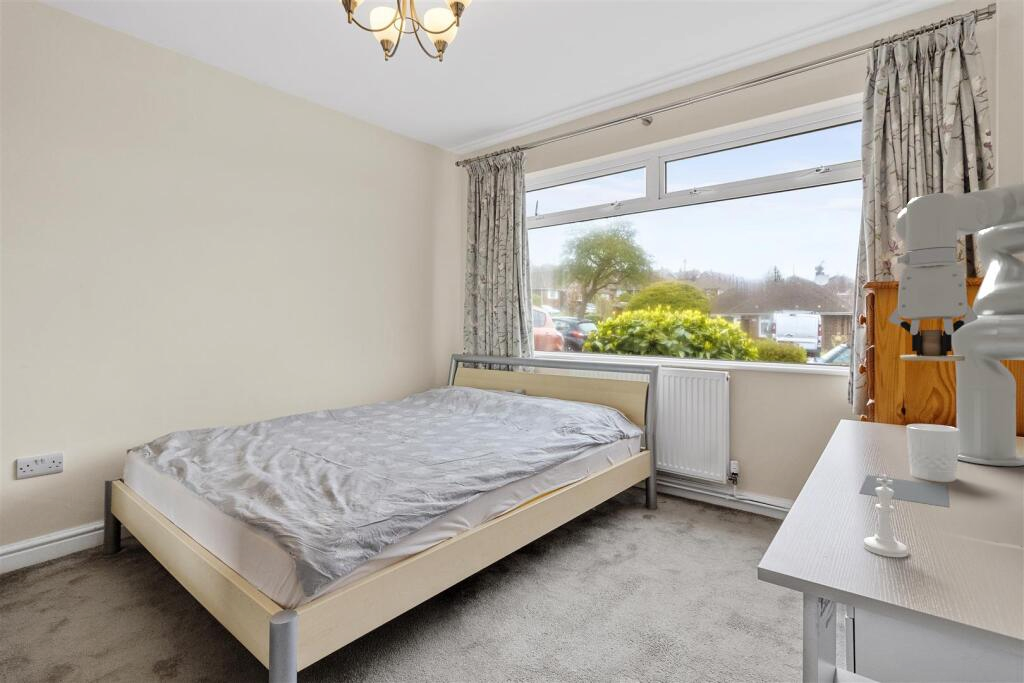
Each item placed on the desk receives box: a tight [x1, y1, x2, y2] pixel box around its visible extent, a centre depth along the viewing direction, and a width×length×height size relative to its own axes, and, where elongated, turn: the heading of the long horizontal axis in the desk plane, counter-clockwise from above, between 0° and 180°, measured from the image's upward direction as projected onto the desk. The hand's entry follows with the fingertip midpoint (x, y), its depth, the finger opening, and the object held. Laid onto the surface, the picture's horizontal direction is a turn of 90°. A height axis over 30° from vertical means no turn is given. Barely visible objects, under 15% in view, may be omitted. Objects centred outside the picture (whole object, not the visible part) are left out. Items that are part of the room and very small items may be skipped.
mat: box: [858, 474, 950, 508], centre depth 91 cm, size 14×12×1 cm
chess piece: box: [862, 474, 909, 558], centre depth 67 cm, size 5×5×10 cm
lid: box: [899, 329, 965, 362], centre depth 97 cm, size 10×10×6 cm
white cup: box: [906, 423, 959, 483], centre depth 98 cm, size 8×8×10 cm
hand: (931, 354), depth 97 cm, fingers closed on lid, 3 cm apart
